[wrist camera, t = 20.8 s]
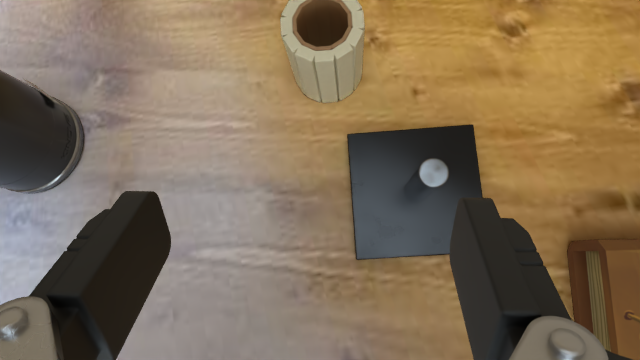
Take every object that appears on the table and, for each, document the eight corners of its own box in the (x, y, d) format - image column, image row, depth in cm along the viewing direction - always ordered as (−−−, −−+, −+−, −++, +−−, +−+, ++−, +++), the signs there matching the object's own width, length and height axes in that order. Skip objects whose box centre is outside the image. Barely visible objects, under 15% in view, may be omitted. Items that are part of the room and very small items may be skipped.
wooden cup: (296, 105, 39) (282, 64, 31) (293, 43, 41) (278, -12, 32) (363, 100, 39) (367, 57, 31) (359, 38, 40) (361, -20, 32)
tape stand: (356, 259, 37) (357, 260, 28) (347, 136, 39) (346, 101, 30) (486, 251, 36) (530, 250, 27) (470, 127, 38) (506, 88, 29)
